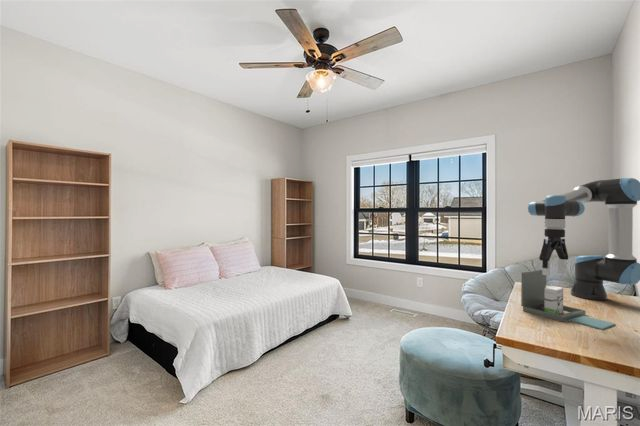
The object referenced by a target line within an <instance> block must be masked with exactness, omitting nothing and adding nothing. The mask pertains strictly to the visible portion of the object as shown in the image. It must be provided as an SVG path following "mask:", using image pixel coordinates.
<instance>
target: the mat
mask: <svg viewBox="0 0 640 426" xmlns="http://www.w3.org/2000/svg"><path fill="white" fill-rule="evenodd" d="M568 321H569V322H572V323H576V324H579V325H584V326H586V327H590V328H594V329H596V330H597V329H598V330H601V331H603V330H606V329H608V328H611V327H613V326H616V323H614V322H610V321H606V320H602V319H600V318H599V319H598V318H595V317H591V316H587V315H584V316H583V315H582V316H579V317H575V318H572V319H569V320H568Z"/></svg>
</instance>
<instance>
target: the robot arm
mask: <svg viewBox="0 0 640 426" xmlns="http://www.w3.org/2000/svg"><path fill="white" fill-rule="evenodd" d="M593 202H596V203H597V202H600V203H601V202H604V205H605V206H606V207H607V208H608V253H607V254H606V255H605V256H603V255H577V256H576V257H575V261H574V265H575V266H574V282H573V285H572V287H571V290H570V294H571V296H574V297H577V298H580V299H585V300H593V301H607V300H608V294H607V291H606V289H605V287H604V282H610V283H616V284H621V285H627V286H633V285H634V286H635V285H636V284H638V283H639V282H640V262H638V261H637V260H638V259H637V258H636V257H635V256H634V255H633V231H634V229H633V224H634V223H633V222H634V221H633V220H634V218H633V217H634V216H633V215H634V213H633V210H634V209H633V208H634V207H636V206H637V205H638V202H640V181H639V180H638V179H636V178H635V177H634V178H633V177H623V178H613V179H601V180H600V179H599V180H594V181H590V182H588V183H585V184H582V185H578V186H576V187H574V188H573V189H572V190H570V191H567V192H564V193H561V194H558V195H556V194H555V195H547V196H546V197H545V199H543V200H540V201H537V200H535V201H530V203H529V204H528V206H527V209H528V211H527V212H528V213H529V215H531V216H535V217H536V216H537V217H540V216H541V217H544V221H543V223H544V228H545V229H544V237H546V238H544V239H543V242H542V243H543V244H542V248H541V251H540V253H539V261H542V262H541V263H542V264H541V265H542V266H541V267H542V268H541V270H542V275H546V277H547V276H548V277H549V276H551V261H550V258H551V257H552V255H553V252H554V250H555V253H556V254H557V256H558V258H557V273H559V274H566V260H569V254H568V250H567V245H566V239H565V237H566V230H565V228H566V217H578V216H579V217H580V216H581V215H582V214H584V212H585V209H586V208H585V204H586V203H593Z"/></svg>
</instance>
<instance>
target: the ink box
mask: <svg viewBox="0 0 640 426" xmlns="http://www.w3.org/2000/svg"><path fill="white" fill-rule="evenodd" d="M563 305H564V287H559V286H555V285H549V286H546V287H545V289H544V308H543V310H544V312H548V313H552V314H555V315H562V314H564V310H563Z"/></svg>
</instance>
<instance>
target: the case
mask: <svg viewBox="0 0 640 426" xmlns="http://www.w3.org/2000/svg"><path fill="white" fill-rule="evenodd" d="M520 285H521V287H520V289H521V290H520V291H521V295H520V296H521V297H520V299H521V300H520V302H521V304H520V305H521V307H522V311H523V312H525V313H526V312H527V313H530V314H533V315H537V316H541V317H544V318H548V319H551V320H555V321H558V322H562V323H563V322H566V321H569V319H572V318H575V317H579V316H582V315H583V316H586V310H585V309H580V308H577V307H572V306H568V305H565V304H563V311H565V312H567V313H562V314H559V315H555V314H552V313H548V312H544V311H543V310H544V289H545V287H547V275H542V269H537V270H530V271H529V270H528V271H522V272H521V284H520ZM542 309H543V310H542Z"/></svg>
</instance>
